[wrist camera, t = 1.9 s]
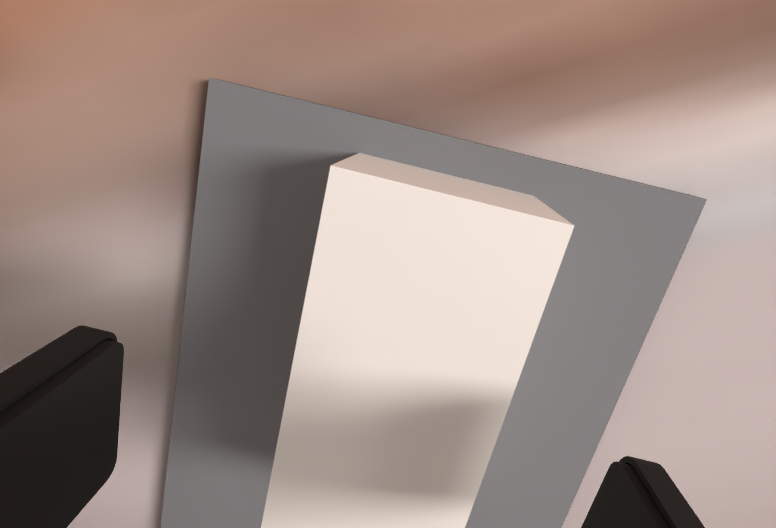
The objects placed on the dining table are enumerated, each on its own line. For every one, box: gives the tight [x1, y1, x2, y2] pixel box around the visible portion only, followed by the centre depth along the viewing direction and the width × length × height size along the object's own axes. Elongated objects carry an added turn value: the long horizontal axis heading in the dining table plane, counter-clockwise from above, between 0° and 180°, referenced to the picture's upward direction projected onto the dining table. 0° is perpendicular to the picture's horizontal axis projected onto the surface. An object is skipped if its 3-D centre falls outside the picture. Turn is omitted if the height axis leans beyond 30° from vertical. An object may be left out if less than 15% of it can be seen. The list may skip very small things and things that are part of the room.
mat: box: [160, 78, 707, 528], centre depth 17 cm, size 14×26×1 cm, turn 167°
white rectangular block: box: [261, 153, 574, 528], centre depth 13 cm, size 5×10×4 cm, turn 167°
